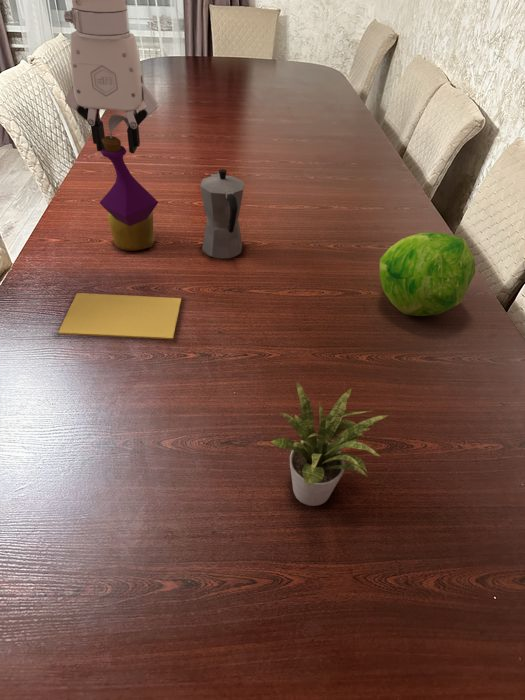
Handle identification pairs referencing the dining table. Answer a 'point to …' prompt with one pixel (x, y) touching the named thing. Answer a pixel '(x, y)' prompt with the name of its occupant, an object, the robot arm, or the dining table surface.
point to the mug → (132, 234)
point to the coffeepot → (222, 215)
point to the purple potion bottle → (124, 184)
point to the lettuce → (427, 273)
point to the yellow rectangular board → (122, 316)
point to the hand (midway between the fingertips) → (117, 148)
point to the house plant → (323, 448)
